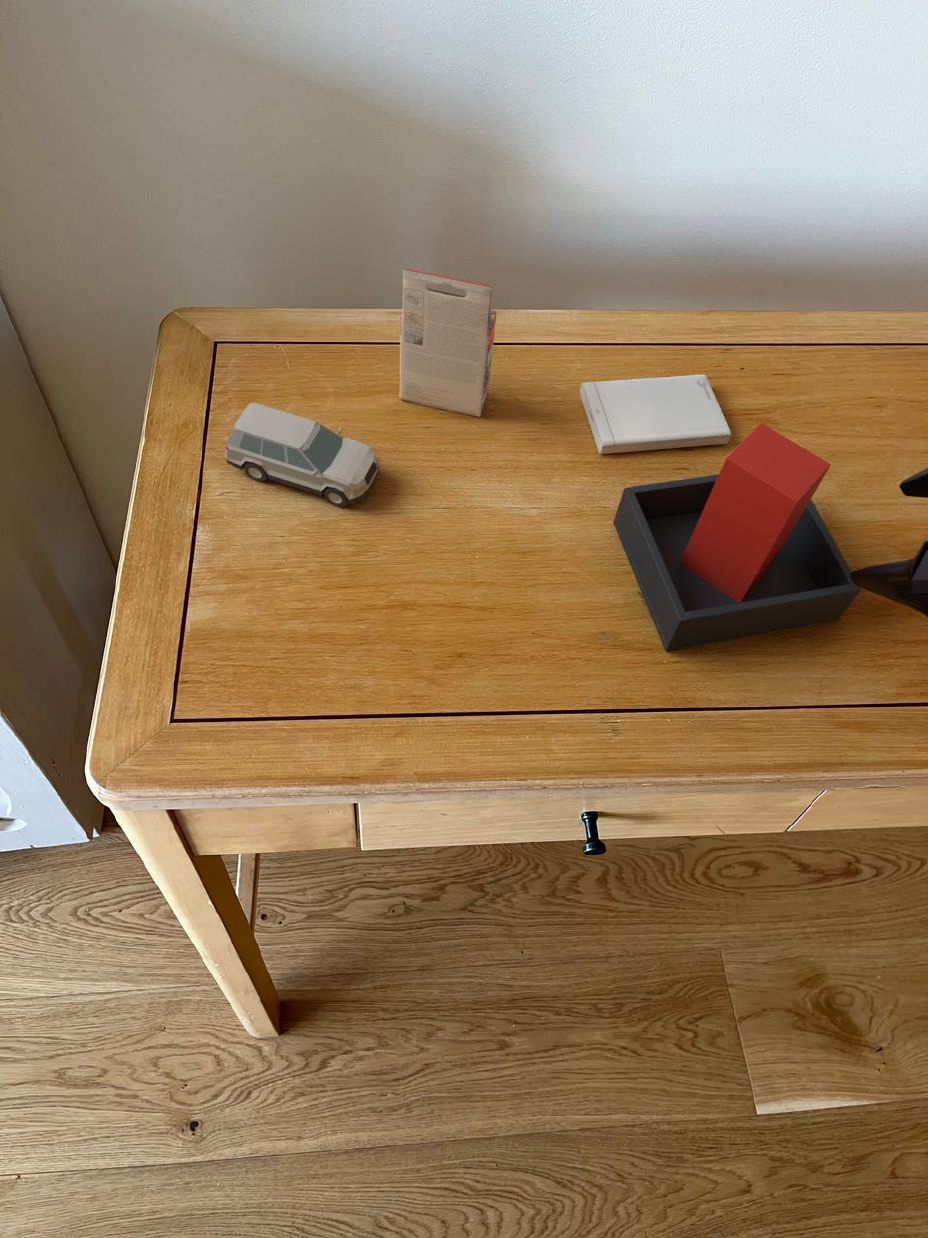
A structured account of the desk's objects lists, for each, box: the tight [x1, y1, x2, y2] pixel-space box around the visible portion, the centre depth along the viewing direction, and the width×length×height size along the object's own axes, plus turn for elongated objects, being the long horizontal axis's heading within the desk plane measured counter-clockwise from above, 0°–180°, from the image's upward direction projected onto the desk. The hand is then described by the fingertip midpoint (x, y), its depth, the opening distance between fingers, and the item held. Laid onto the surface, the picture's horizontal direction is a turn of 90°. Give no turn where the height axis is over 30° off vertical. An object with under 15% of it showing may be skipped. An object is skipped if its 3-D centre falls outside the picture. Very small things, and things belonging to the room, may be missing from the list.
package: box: [680, 422, 832, 603], centre depth 73 cm, size 6×5×13 cm
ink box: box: [399, 267, 497, 418], centre depth 82 cm, size 4×8×15 cm, turn 77°
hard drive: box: [579, 373, 732, 455], centre depth 88 cm, size 2×8×12 cm
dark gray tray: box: [613, 473, 862, 652], centre depth 77 cm, size 15×13×5 cm
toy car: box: [224, 401, 380, 507], centre depth 80 cm, size 6×13×5 cm, turn 71°
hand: (878, 532), depth 65 cm, fingers open, 9 cm apart
